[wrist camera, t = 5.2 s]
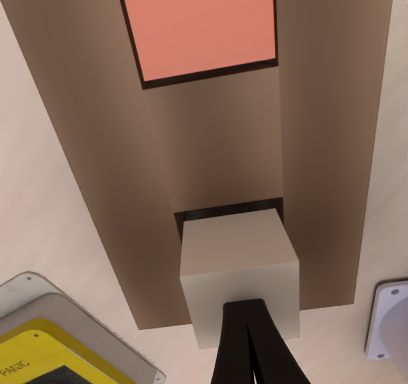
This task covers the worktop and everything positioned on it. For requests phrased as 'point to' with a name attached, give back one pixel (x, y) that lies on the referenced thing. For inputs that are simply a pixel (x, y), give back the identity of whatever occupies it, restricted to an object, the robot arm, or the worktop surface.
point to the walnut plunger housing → (214, 138)
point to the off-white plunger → (239, 271)
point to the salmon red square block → (200, 34)
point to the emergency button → (61, 340)
